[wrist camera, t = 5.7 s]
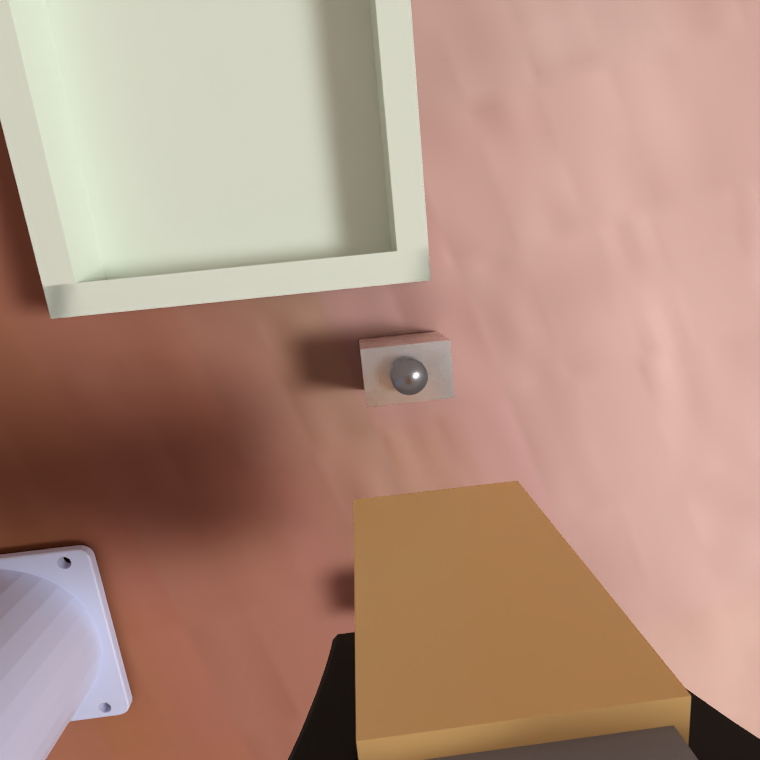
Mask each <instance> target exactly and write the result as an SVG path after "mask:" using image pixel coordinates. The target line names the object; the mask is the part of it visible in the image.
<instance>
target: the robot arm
mask: <svg viewBox="0 0 760 760" xmlns="http://www.w3.org/2000/svg"><path fill="white" fill-rule="evenodd" d="M63 557H67V558H68V559H70V561H71V563H68V562H66V561H65V560H64V558H63ZM685 689H686V688H685ZM686 690H687V689H686ZM687 691H688V692H689V693H690V695H691V710H690V726H689V742H688V746H689V747H690V749H691V750H692V752H693V753H694V754H695V756H696V757H697V759H698V760H760V739H759V738H757V737H756V736H754V735H753V734H751V733H750V732H748V731H747V730H745V729H743V728H742V727H740V726H739V725H737V724H736V723H734V722H733V721H731V720H730V719H729V718H727V717H726V716H724V715H723V714H721V713H720V712H718V711H717V710H716V709H714V708H713V707H711V706H710V705H708V704H707V703H706V702H704V701H703V700H701V699H700V698H698V697H697V696H696V695H694V694H693V693H691V692H690V691H689V690H687ZM106 703H108V704H106ZM131 703H132V695H131V691H130V687H129V684H128V680H127V676H126V672H125V668H124V665H123V661H122V657H121V653H120V649H119V645H118V642H117V638H116V634H115V630H114V626H113V623H112V619H111V615H110V611H109V607H108V603H107V600H106V596H105V592H104V588H103V584H102V581H101V577H100V573H99V569H98V565H97V561H96V558H95V554H94V552H93V550H91V549H90V548H89V547H87V546H84V545H77V546H68V547H60V548H51V549H43V550H35V551H26V552H18V553H10V554H1V555H0V760H45V759H46V758H47V756H48V755H49V753H50V751H51V750H52V748H53V747H54V745H55V744H56V742H57V740H58V739H59V737H60V736H61V734H62V732H63V731H64V729H65V728H66V726H67V725H68V723H69V721H75V720H83V719H90V718H98V717H106V716H113V715H120V714H123V713H125V712H126V711H127V710H128V708H129V706H130V705H131ZM288 760H359V759H358V752H357V744H356V687H355V632H353V633H345V634H338V635H337V636H336V637H335V638H334V639H333V642H332V646H331V650H330V654H329V657H328V661H327V664H326V667H325V670H324V673H323V676H322V679H321V682H320V685H319V687H318V690H317V693H316V696H315V698H314V701H313V703H312V706H311V708H310V710H309V713H308V715H307V718H306V720H305V723H304V725H303V728H302V730H301V732H300V735H299V737H298V739H297V741H296V743H295V746H294V748H293V750H292V752H291V754H290V756H289V758H288Z"/></svg>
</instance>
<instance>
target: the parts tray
mask: <svg viewBox="0 0 760 760" xmlns="http://www.w3.org/2000/svg"><path fill="white" fill-rule="evenodd" d="M0 120H1V124H2V128H3V132H4V136H5V140H6V144H7V148H8V152H9V156H10V159H11V163H12V167H13V171H14V175H15V179H16V183H17V187H18V191H19V195H20V199H21V203H22V207H23V211H24V215H25V219H26V223H27V227H28V231H29V234H30V238H31V242H32V246H33V250H34V254H35V258H36V262H37V266H38V270H39V274H40V278H41V282H42V286H43V290H44V294H45V298H46V302H47V305H48V309H49V313H50V317H51V319H54V318H64V317H74V316H83V315H93V314H103V313H113V312H123V311H133V310H142V309H152V308H162V307H172V306H182V305H191V304H201V303H211V302H221V301H231V300H240V299H250V298H260V297H270V296H280V295H290V294H299V293H309V292H319V291H329V290H339V289H348V288H358V287H368V286H378V285H388V284H397V283H407V282H417V281H427V280H431V276H430V262H429V249H428V235H427V221H426V207H425V194H424V180H423V166H422V152H421V138H420V125H419V111H418V97H417V83H416V70H415V56H414V42H413V28H412V15H411V1H410V0H0Z"/></svg>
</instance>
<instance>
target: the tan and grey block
mask: <svg viewBox="0 0 760 760" xmlns="http://www.w3.org/2000/svg"><path fill="white" fill-rule="evenodd" d="M353 504H354V595H355V687H356V744H357V752H358V759H359V760H698V759H697V757H696V756H695V754H694V753H693V752H692V750H691V749H690V747H689V746H688V742H689V726H690V710H691V695H690V693H689V692H688V691H687V690H686V689H685V687H684V686H683V685H682V684H681V682H680V681H679V680H678V679H677V677H676V676H675V675H674V674H673V672H672V671H671V670H670V669H669V668H668V666H667V665H666V664H665V663H664V661H663V660H662V659H661V658H660V656H659V655H658V654H657V653H656V651H655V650H654V649H653V648H652V647H651V645H650V644H649V643H648V642H647V640H646V639H645V638H644V637H643V635H642V634H641V633H640V632H639V630H638V629H637V628H636V627H635V626H634V624H633V623H632V622H631V621H630V619H629V618H628V617H627V616H626V614H625V613H624V612H623V611H622V609H621V608H620V607H619V606H618V605H617V603H616V602H615V601H614V600H613V598H612V597H611V596H610V595H609V593H608V592H607V591H606V590H605V588H604V587H603V586H602V585H601V583H600V582H599V581H598V580H597V579H596V577H595V576H594V575H593V574H592V572H591V571H590V570H589V569H588V567H587V566H586V565H585V564H584V562H583V561H582V560H581V559H580V558H579V556H578V555H577V554H576V553H575V551H574V550H573V549H572V548H571V546H570V545H569V544H568V543H567V541H566V540H565V539H564V538H563V537H562V535H561V534H560V533H559V532H558V530H557V529H556V528H555V527H554V525H553V524H552V523H551V522H550V520H549V519H548V518H547V517H546V516H545V514H544V513H543V512H542V511H541V509H540V508H539V507H538V506H537V504H536V503H535V502H534V501H533V499H532V498H531V497H530V496H529V495H528V493H527V492H526V491H525V490H524V488H523V487H522V486H521V485H520V483H519V482H518V481H511V482H503V483H494V484H486V485H477V486H468V487H460V488H451V489H443V490H434V491H425V492H417V493H408V494H400V495H391V496H382V497H374V498H365V499H357V500H353Z"/></svg>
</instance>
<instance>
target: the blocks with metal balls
mask: <svg viewBox="0 0 760 760" xmlns="http://www.w3.org/2000/svg"><path fill="white" fill-rule="evenodd" d="M359 345H360V354H361V363H362V372H363V381H364V390H365V399H366V408H368V407H377V406H386V405H395V404H404V403H413V402H422V401H431V400H439V399H448V398H454V391H453V376H452V360H451V345H450V339H448V338H446V337H445V336H443V335H442V334H440V333H439V332H437V331H434V332H424V333H415V334H405V335H396V336H386V337H377V338H368V339H359Z"/></svg>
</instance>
